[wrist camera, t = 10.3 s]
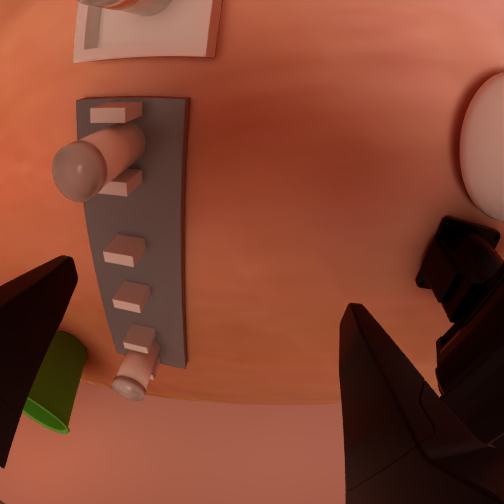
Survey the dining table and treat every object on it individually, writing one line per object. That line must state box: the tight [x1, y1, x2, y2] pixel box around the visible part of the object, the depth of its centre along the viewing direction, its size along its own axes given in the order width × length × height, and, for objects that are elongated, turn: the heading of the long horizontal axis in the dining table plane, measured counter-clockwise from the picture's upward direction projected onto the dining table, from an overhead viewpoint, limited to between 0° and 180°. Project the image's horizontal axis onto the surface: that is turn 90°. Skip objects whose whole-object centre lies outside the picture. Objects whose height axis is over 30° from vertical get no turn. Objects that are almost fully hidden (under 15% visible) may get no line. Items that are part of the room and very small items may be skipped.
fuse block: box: [76, 96, 190, 380], centre depth 23 cm, size 8×26×3 cm, turn 173°
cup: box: [22, 332, 87, 434], centre depth 29 cm, size 9×9×11 cm
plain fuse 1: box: [52, 121, 146, 202], centre depth 16 cm, size 3×3×6 cm
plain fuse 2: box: [112, 339, 160, 401], centre depth 27 cm, size 3×3×6 cm
